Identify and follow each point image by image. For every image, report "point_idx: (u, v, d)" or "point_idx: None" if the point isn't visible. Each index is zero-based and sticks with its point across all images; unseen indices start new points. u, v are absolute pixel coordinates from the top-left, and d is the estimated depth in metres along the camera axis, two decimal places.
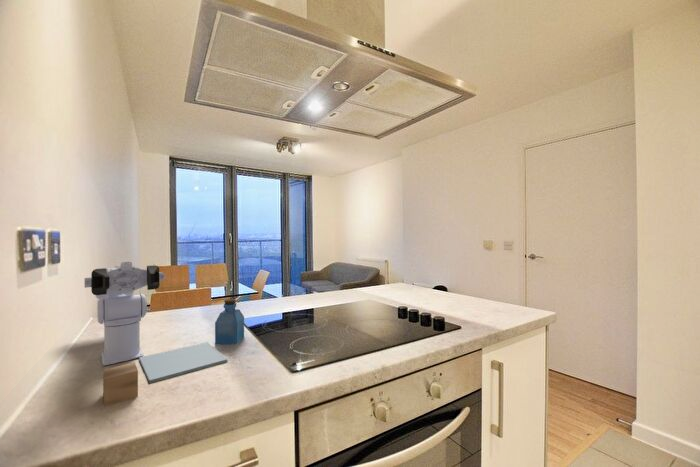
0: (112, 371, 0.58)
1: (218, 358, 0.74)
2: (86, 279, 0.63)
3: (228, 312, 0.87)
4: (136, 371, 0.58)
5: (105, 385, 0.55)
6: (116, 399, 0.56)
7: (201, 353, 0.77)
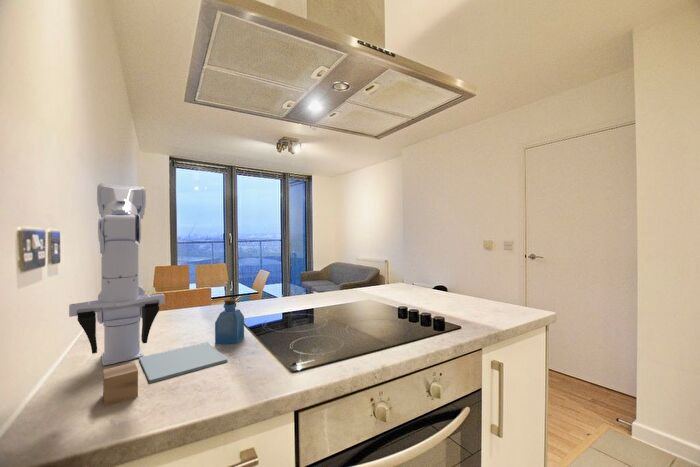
0: (112, 371, 0.58)
1: (218, 358, 0.74)
2: None
3: (228, 312, 0.87)
4: (136, 371, 0.58)
5: (105, 385, 0.55)
6: (116, 399, 0.56)
7: (201, 353, 0.77)
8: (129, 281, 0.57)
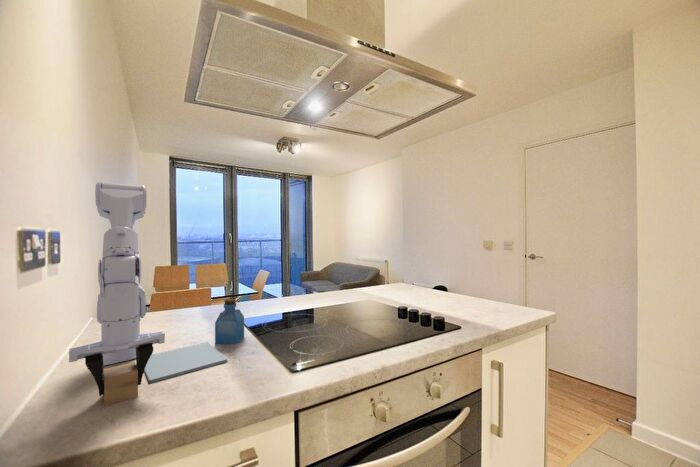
0: (112, 370, 0.58)
1: (218, 358, 0.74)
2: None
3: (228, 312, 0.87)
4: (136, 371, 0.58)
5: (105, 384, 0.55)
6: (116, 398, 0.56)
7: (201, 353, 0.77)
8: (129, 323, 0.57)
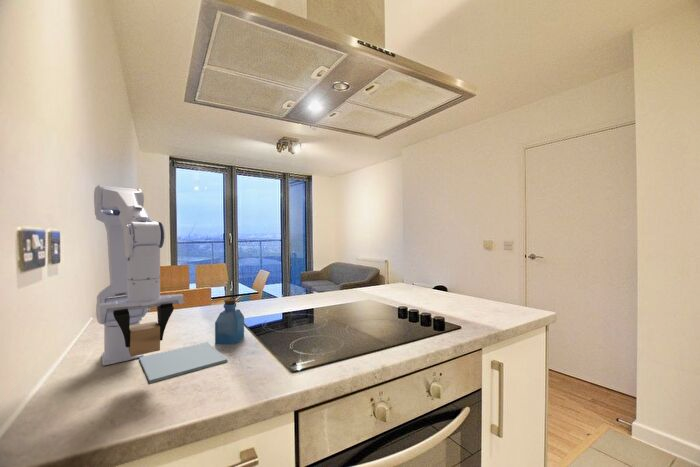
0: (137, 326, 0.63)
1: (218, 358, 0.74)
2: None
3: (228, 312, 0.87)
4: (158, 327, 0.63)
5: (131, 337, 0.60)
6: (141, 351, 0.61)
7: (201, 353, 0.77)
8: (152, 282, 0.62)
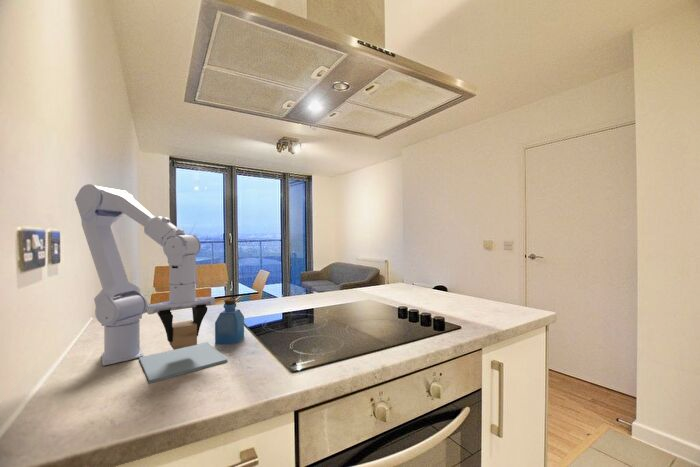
0: (177, 324, 0.74)
1: (218, 358, 0.74)
2: None
3: (228, 312, 0.87)
4: (195, 324, 0.74)
5: (174, 333, 0.71)
6: (182, 345, 0.72)
7: (201, 353, 0.77)
8: (190, 287, 0.73)
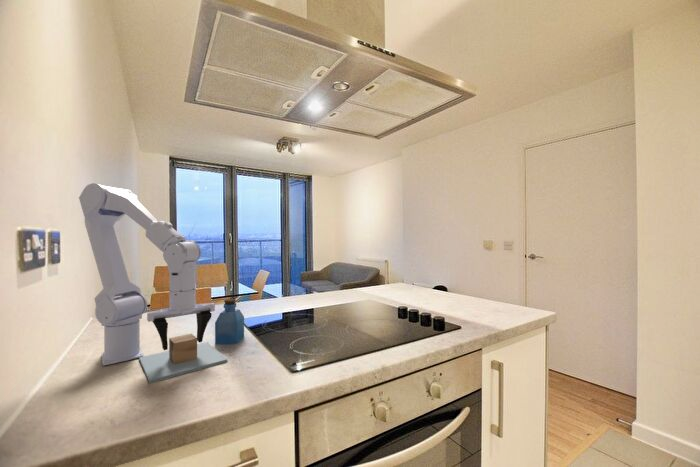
0: (177, 338, 0.74)
1: (218, 358, 0.74)
2: None
3: (228, 312, 0.87)
4: (196, 338, 0.74)
5: (174, 348, 0.71)
6: (182, 359, 0.72)
7: (201, 353, 0.77)
8: (190, 293, 0.73)
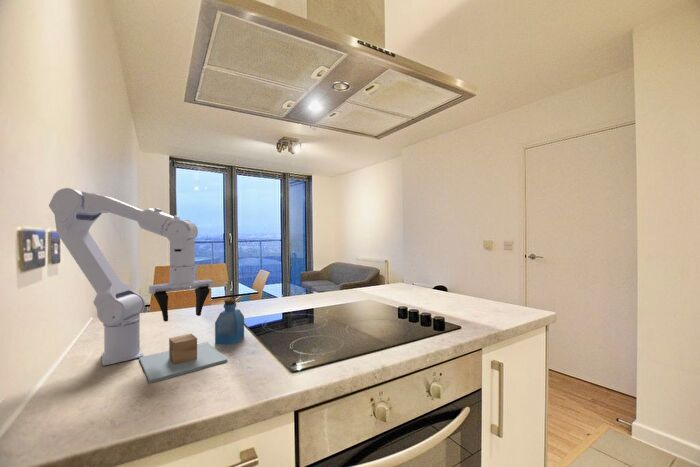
0: (177, 338, 0.74)
1: (218, 358, 0.74)
2: None
3: (228, 312, 0.87)
4: (196, 338, 0.74)
5: (174, 348, 0.71)
6: (182, 359, 0.72)
7: (201, 353, 0.77)
8: (189, 269, 0.78)
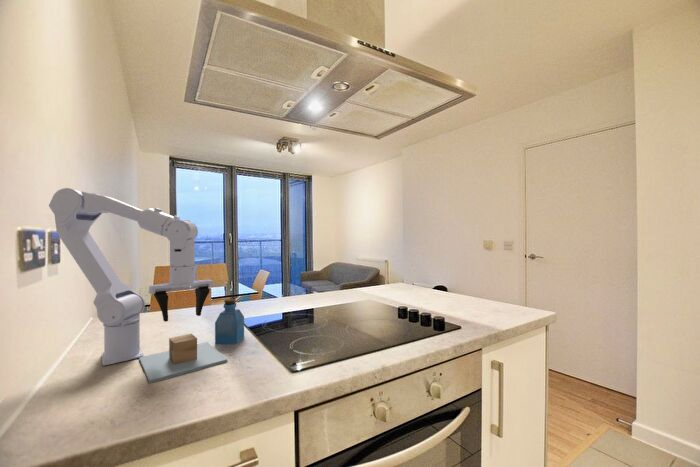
0: (177, 338, 0.74)
1: (218, 358, 0.74)
2: None
3: (228, 312, 0.87)
4: (196, 338, 0.74)
5: (174, 348, 0.71)
6: (182, 359, 0.72)
7: (201, 353, 0.77)
8: (189, 269, 0.78)
